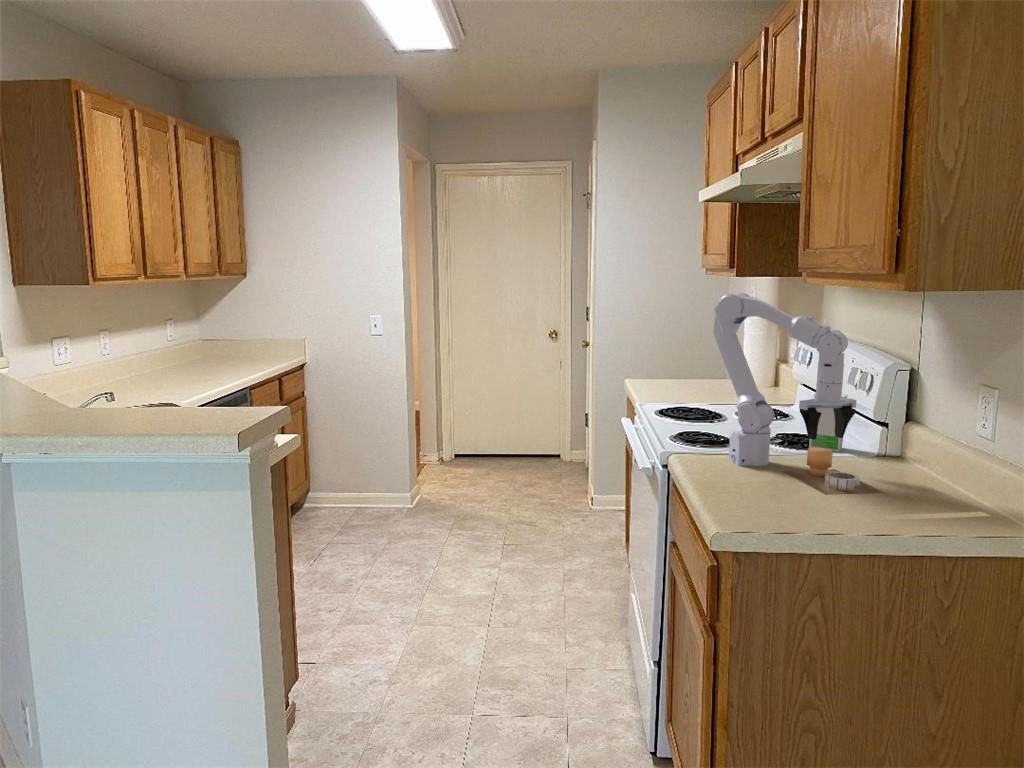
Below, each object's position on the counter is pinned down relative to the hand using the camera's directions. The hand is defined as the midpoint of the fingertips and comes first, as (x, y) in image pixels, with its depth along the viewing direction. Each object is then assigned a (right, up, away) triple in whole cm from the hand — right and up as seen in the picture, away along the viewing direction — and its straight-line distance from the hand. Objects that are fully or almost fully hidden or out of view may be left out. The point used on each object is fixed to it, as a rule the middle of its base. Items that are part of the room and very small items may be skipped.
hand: (825, 437), depth 185 cm
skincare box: (+13, -5, +31) cm, 34 cm away
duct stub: (-1, -10, -10) cm, 15 cm away
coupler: (-2, -9, -1) cm, 9 cm away
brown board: (-1, -10, -6) cm, 12 cm away
